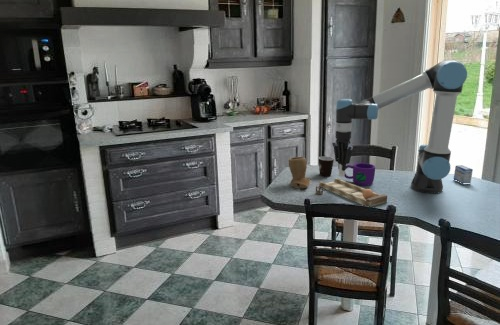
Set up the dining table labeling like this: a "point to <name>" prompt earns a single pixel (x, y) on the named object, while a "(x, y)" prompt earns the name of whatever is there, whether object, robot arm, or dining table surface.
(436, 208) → the dining table surface
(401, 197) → the dining table surface
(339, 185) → the wooden compartment tray
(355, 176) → the mug
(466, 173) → the medicine box
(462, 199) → the dining table surface
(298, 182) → the brown boot
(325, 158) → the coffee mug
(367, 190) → the ball
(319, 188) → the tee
